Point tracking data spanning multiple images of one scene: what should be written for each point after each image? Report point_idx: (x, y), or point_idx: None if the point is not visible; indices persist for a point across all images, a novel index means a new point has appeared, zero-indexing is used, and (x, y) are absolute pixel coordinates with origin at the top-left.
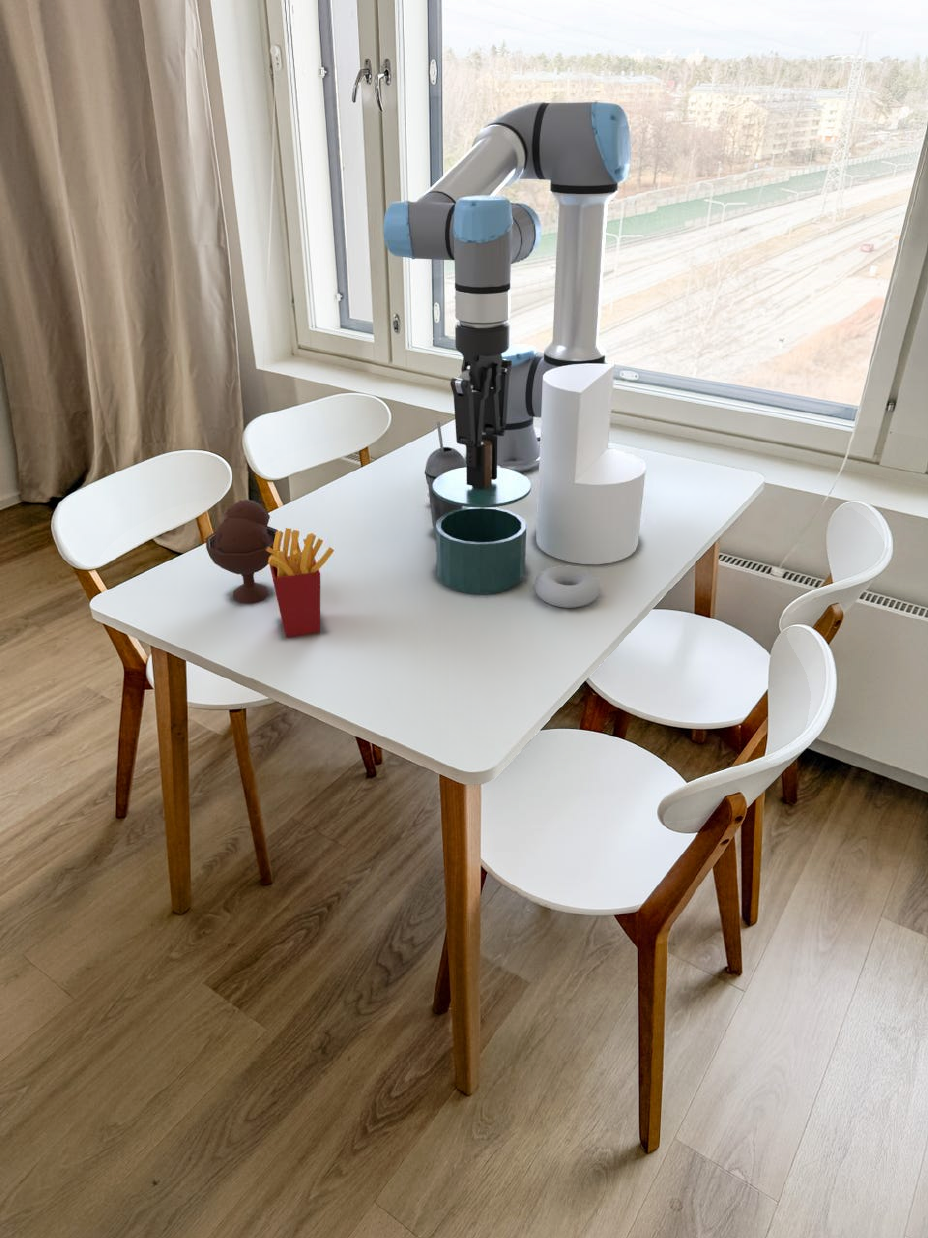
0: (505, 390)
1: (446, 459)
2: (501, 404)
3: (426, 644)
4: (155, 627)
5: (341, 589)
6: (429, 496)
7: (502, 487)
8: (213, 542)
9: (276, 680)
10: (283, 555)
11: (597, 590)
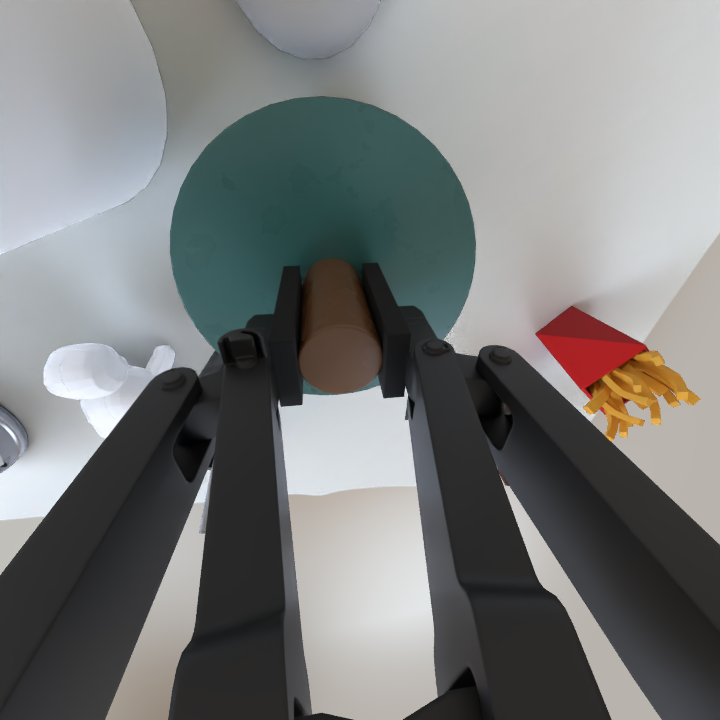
0: (33, 614)
1: None
2: (145, 490)
3: (581, 155)
4: None
5: (464, 350)
6: None
7: (315, 218)
8: None
9: (681, 278)
10: (673, 396)
11: None
